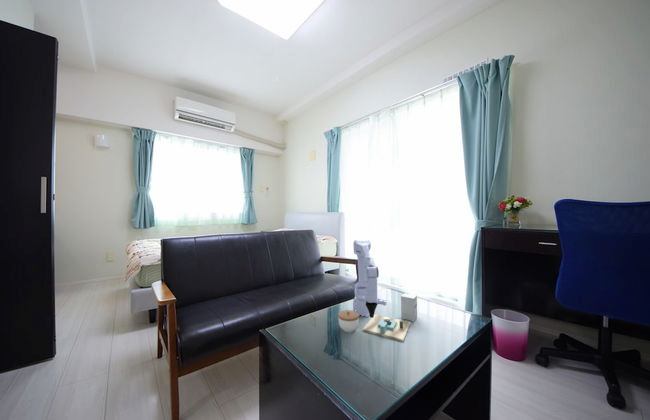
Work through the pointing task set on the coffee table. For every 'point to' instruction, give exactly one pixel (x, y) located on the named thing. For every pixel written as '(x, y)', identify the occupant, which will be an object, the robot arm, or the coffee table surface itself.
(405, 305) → the supplement box
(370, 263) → the robot arm
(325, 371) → the coffee table surface
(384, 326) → the angular block
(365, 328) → the board
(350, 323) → the lidded jar
